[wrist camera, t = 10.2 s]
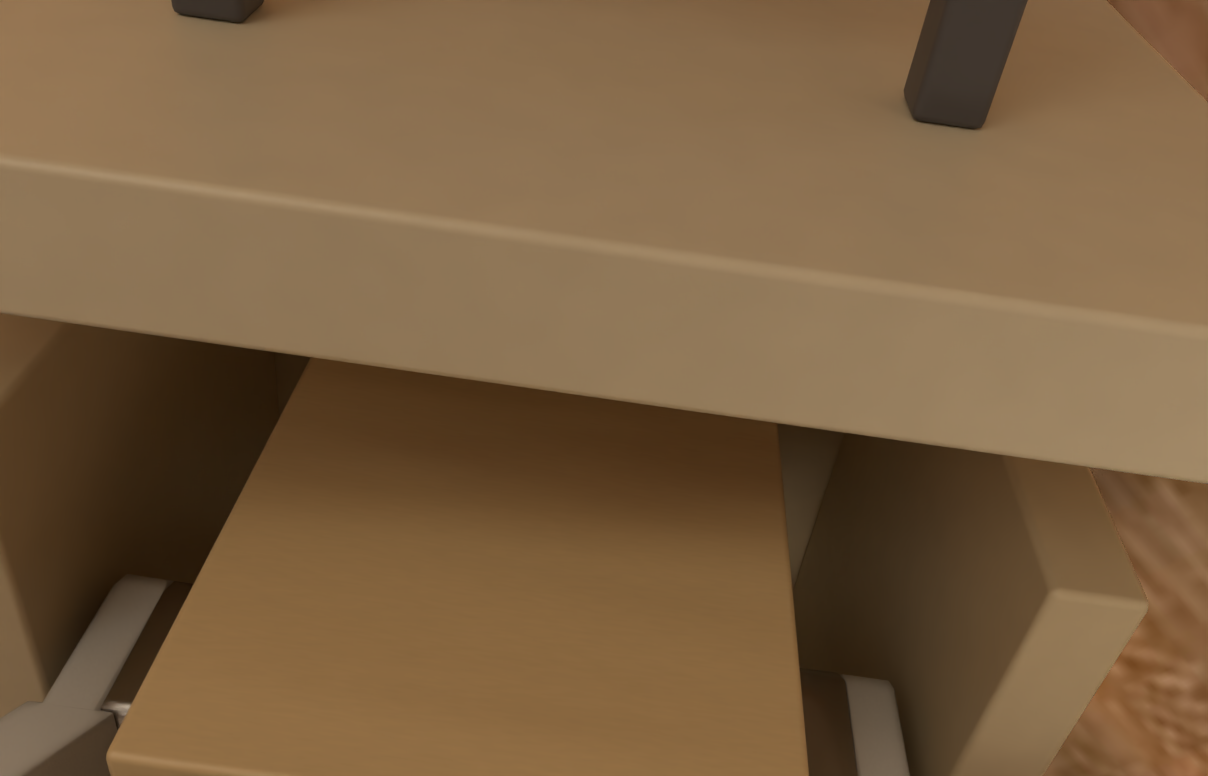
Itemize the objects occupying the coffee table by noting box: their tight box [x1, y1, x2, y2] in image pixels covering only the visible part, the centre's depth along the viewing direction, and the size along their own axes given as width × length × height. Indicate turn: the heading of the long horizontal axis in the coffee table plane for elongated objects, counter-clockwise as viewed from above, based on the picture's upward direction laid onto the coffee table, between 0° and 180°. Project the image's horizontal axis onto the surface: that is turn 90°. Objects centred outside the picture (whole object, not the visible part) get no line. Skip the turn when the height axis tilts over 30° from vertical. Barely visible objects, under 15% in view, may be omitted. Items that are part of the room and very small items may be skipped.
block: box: [106, 357, 809, 776], centre depth 11 cm, size 5×5×5 cm
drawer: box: [0, 0, 1208, 776], centre depth 13 cm, size 19×12×8 cm, turn 173°
